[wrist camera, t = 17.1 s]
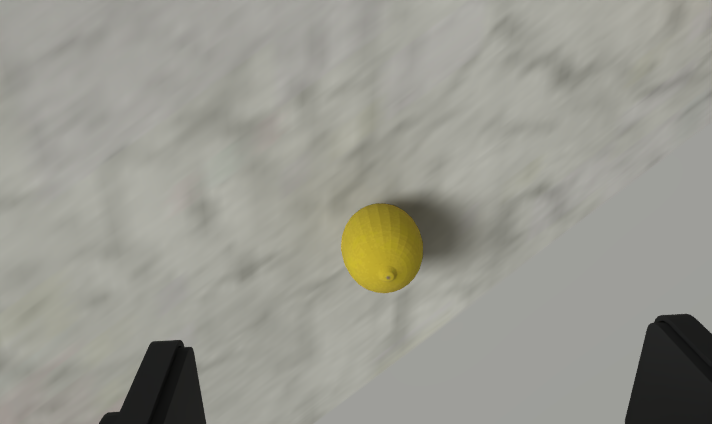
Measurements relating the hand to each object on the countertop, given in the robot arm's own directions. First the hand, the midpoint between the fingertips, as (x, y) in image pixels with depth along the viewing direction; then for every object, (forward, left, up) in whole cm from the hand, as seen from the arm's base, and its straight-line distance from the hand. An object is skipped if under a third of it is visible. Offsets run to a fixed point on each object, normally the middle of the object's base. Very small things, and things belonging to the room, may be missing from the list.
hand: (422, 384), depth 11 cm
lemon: (+10, +2, -29) cm, 30 cm away
